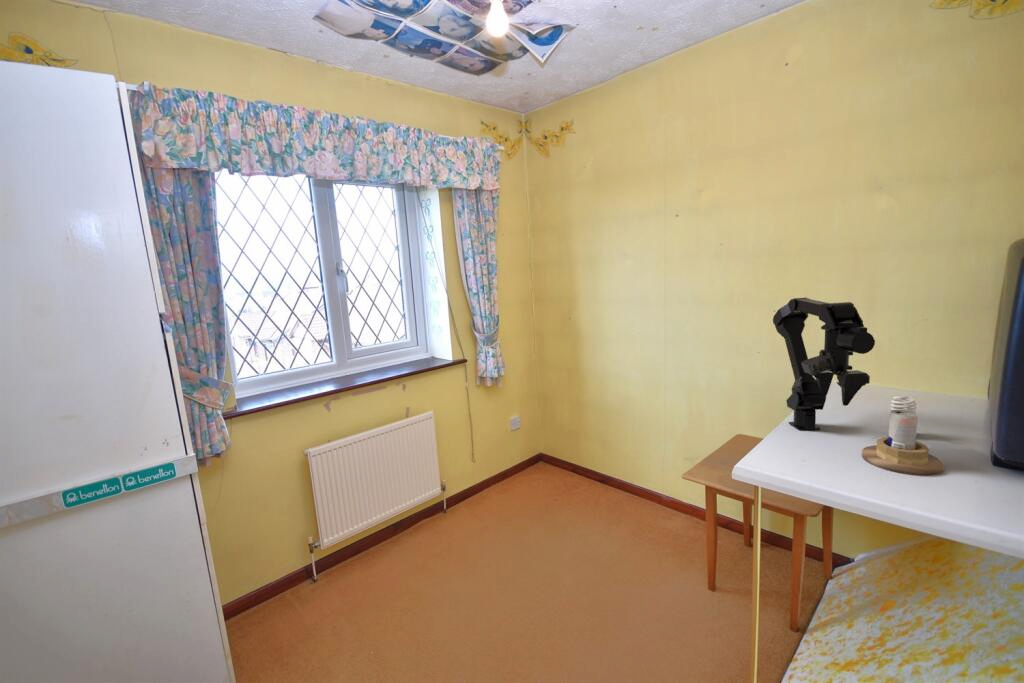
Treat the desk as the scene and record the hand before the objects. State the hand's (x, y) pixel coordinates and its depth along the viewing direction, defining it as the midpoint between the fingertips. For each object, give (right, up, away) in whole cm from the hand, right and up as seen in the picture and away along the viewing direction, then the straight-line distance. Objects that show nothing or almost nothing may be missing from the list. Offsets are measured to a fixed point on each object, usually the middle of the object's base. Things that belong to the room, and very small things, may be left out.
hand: (834, 400), depth 126 cm
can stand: (+9, -14, -11) cm, 20 cm away
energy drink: (+9, -13, -11) cm, 20 cm away
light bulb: (+23, -11, +4) cm, 26 cm away
